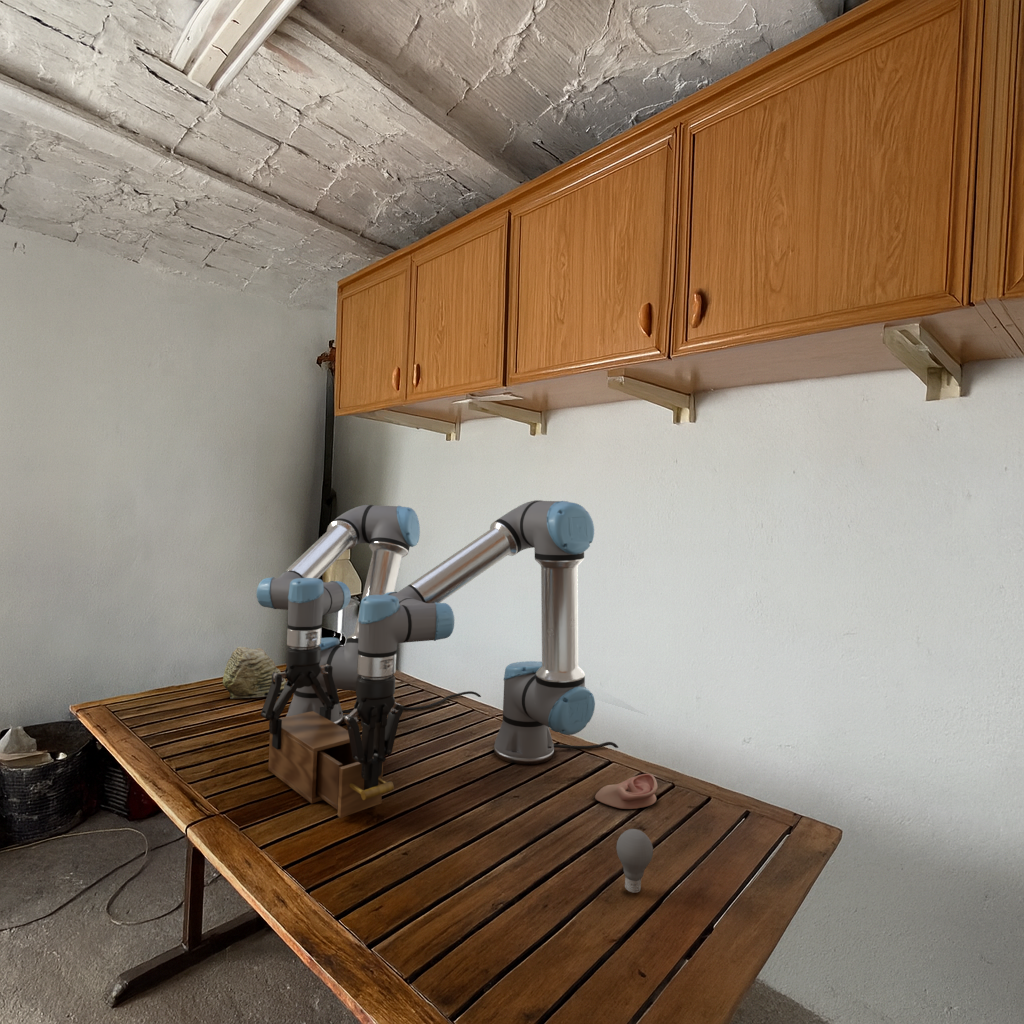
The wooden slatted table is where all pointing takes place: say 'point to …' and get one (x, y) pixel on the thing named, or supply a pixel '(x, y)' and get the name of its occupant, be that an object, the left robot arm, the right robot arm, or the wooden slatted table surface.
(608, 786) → the anatomical model
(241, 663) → the fossil
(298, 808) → the wooden slatted table surface
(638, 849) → the light bulb
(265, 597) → the left robot arm
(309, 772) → the cabinet
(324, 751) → the drawer
